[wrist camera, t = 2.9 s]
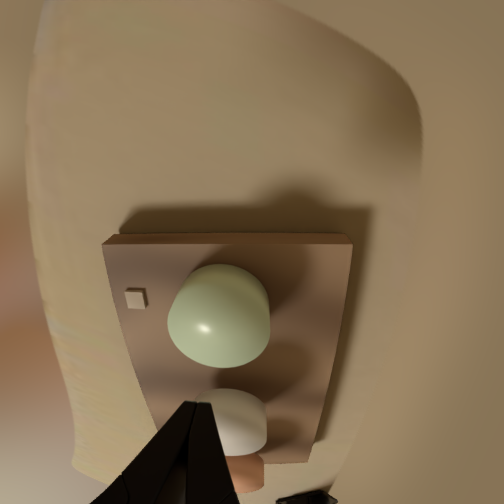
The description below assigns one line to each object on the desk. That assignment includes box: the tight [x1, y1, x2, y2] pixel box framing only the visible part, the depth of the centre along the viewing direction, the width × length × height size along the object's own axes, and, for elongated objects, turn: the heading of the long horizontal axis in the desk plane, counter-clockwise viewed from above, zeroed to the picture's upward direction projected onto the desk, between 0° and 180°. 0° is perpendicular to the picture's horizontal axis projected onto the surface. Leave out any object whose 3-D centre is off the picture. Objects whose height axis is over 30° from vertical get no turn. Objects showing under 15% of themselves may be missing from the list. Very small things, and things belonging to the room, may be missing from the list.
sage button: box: [167, 264, 270, 368], centre depth 13 cm, size 4×4×2 cm
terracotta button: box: [225, 453, 264, 493], centre depth 18 cm, size 4×4×2 cm
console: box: [102, 233, 353, 464], centre depth 18 cm, size 20×12×2 cm, turn 1°
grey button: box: [194, 389, 267, 456], centre depth 15 cm, size 4×4×2 cm
